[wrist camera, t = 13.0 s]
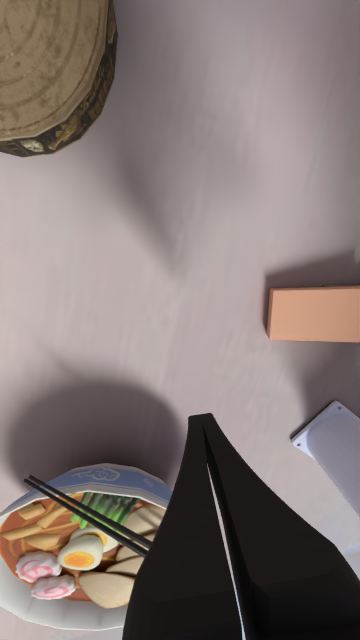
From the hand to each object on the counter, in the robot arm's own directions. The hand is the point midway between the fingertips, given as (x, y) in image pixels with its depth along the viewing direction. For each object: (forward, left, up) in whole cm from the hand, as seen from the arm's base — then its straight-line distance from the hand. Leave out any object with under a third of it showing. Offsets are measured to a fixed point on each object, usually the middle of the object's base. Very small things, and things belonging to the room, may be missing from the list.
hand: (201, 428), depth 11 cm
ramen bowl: (-5, +22, -11) cm, 25 cm away
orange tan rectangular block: (-4, -9, -10) cm, 14 cm away
